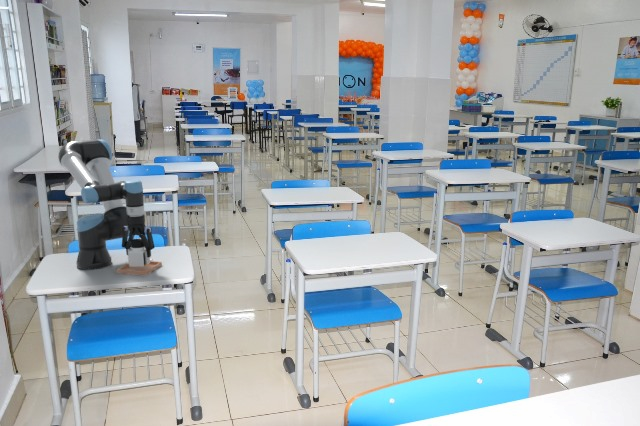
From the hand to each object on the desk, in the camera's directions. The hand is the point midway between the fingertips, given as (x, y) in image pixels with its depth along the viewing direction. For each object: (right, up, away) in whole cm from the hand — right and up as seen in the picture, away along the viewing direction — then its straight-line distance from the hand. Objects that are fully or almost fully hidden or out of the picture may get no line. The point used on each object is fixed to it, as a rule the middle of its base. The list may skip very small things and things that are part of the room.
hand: (139, 262), depth 241 cm
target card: (-2, 0, +11) cm, 12 cm away
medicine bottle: (0, -1, 0) cm, 1 cm away
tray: (0, -3, +1) cm, 3 cm away
